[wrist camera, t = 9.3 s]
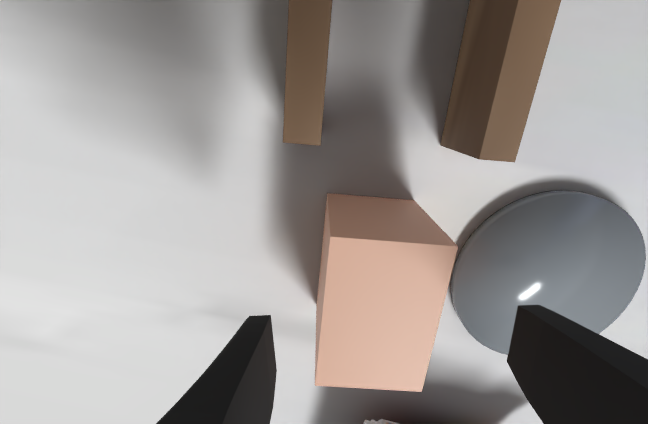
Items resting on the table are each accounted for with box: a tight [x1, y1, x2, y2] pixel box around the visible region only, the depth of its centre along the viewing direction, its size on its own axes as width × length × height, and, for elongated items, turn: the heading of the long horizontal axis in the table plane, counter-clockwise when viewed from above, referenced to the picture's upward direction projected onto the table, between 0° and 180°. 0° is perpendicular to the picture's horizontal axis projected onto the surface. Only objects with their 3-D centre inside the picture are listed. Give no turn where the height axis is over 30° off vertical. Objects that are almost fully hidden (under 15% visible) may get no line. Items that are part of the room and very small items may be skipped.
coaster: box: [451, 190, 646, 355], centre depth 16 cm, size 9×9×1 cm
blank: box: [315, 193, 458, 392], centre depth 13 cm, size 4×6×5 cm, turn 175°
